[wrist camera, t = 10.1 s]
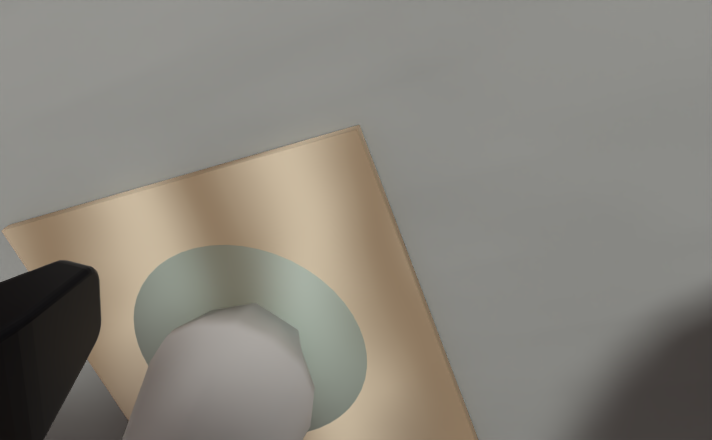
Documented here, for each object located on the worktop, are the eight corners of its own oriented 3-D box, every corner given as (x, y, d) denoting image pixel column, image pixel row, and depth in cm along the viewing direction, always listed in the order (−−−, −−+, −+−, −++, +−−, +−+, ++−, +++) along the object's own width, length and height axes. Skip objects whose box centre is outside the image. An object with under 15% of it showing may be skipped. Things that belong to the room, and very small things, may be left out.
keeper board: (359, 124, 20) (357, 129, 20) (482, 451, 26) (482, 459, 26) (8, 225, 25) (0, 231, 24) (179, 484, 30) (176, 492, 30)
